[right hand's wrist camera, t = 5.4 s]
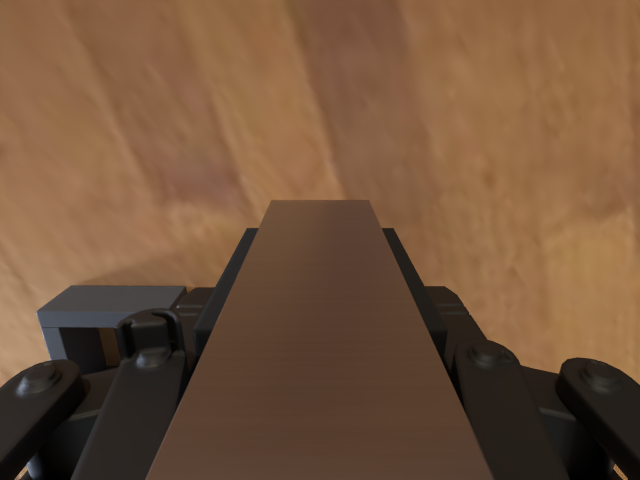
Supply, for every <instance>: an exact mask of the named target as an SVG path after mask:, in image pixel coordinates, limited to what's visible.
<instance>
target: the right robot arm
mask: <svg viewBox="0 0 640 480" xmlns="http://www.w3.org/2000/svg"><path fill="white" fill-rule="evenodd" d="M258 229H259V228H247V229H246V231H245V233H244V235H243V237H242V239H241V240H240V242H239V244H238V246H237V248H236V250H235V252H234V253H233V255H232V257H231V259H230V261H229V263H228V265H227V266H226V268H225V270H224V272H223V274H222V276H221V278H220V279H219V281H218V283H217V285H216V287H215V288H195V289H193V290H192V291H190V292H189V293H187V294H186V295H184V296H183V297H182V299H181V300H180V302H179V303H178V305H177V308H175V309H174V310H171V309H167V308H152V309H147V310H142V311H139V312H137V313H134V314H131V315H129V316H127V317H126V318H124V319H123V320H121V321H120V322H119V323H118V324H117V325H116V326H115V328H114V331H115V335H116V339H117V343H118V348H119V352H120V356H121V363H120V366H119V367H117V368H114V369H110V370H106V371H101V372H96V373H91V374H87V375H81V371H80V368H79V365H77V364H76V363H75V362H74V361H71V360H65V359H59V360H50V361H46V362H43V363H39V364H36V365H33V366H32V367H30V368H27V369H25V370H23V371H21V372H20V373H18V374H17V375H16V376H14V377H13V378H11V379H10V380H9V381H7V382H6V383H5V384H4V385H3V386H2V387H1V388H0V480H14V479H15V478H16V476H17V475H18V474H19V473H20V472H21V470H22V469H23V468H24V467H25V466H26V467H27V469H28V470H27V472H26V473H25V474H24V475H23V476H22V478H21V479H19V480H145V479H146V477H147V474H148V472H149V470H150V468H151V465H152V463H153V461H154V459H155V457H156V454H157V452H158V450H159V448H160V446H161V443H162V441H163V439H164V437H165V435H166V432H167V430H168V428H169V426H170V423H171V421H172V419H173V417H174V415H175V412H176V410H177V408H178V406H179V404H180V401H181V399H182V397H183V395H184V392H185V390H186V388H187V386H188V384H189V381H190V379H191V377H192V375H193V373H194V370H195V368H196V366H197V364H198V362H199V359H200V357H201V355H202V353H203V350H204V348H205V346H206V344H207V342H208V339H209V337H210V335H211V333H212V331H213V328H214V326H215V324H216V322H217V320H218V317H219V315H220V313H221V311H222V308H223V306H224V304H225V302H226V300H227V297H228V295H229V293H230V291H231V289H232V286H233V284H234V282H235V280H236V277H237V275H238V273H239V271H240V269H241V266H242V264H243V262H244V260H245V258H246V255H247V253H248V251H249V249H250V247H251V244H252V242H253V240H254V238H255V235H256V233H257V231H258ZM382 230H383V233H384V235H385V237H386V239H387V242H388V244H389V246H390V248H391V250H392V253H393V255H394V257H395V259H396V261H397V264H398V266H399V268H400V270H401V272H402V275H403V277H404V279H405V281H406V283H407V286H408V288H409V290H410V292H411V294H412V297H413V299H414V301H415V303H416V305H417V308H418V310H419V312H420V314H421V316H422V319H423V321H424V323H425V325H426V328H427V330H428V332H429V334H430V336H431V339H432V341H433V343H434V345H435V347H436V350H437V352H438V354H439V356H440V358H441V361H442V363H443V365H444V367H445V369H446V372H447V374H448V376H449V378H450V380H451V383H452V385H453V387H454V389H455V391H456V394H457V396H458V398H459V400H460V402H461V405H462V407H463V409H464V411H465V414H466V416H467V418H468V420H469V422H470V425H471V427H472V429H473V431H474V433H475V436H476V438H477V440H478V442H479V444H480V447H481V449H482V451H483V453H484V455H485V458H486V460H487V462H488V464H489V466H490V469H491V471H492V473H493V475H494V477H495V480H623V479H622V478H621V477H620V476H619V475H618V474H617V473H616V472H615V470H614V469H613V467H614V465H615V464H616V465H617V466H618V467H619V469H620V470H621V471H622V472H623V473H624V475H625V476H626V477H627V478H628V480H640V385H639V384H638V383H637V382H635V381H634V380H633V379H632V378H631V377H629V376H628V375H626V374H625V373H624V372H622V371H621V370H619V369H617V368H615V367H613V366H611V365H608V364H607V363H604V362H601V361H597V360H594V359H588V358H572V359H567V360H566V361H565V362H564V363H563V364H562V366H561V369H560V373H559V374H557V373H552V372H547V371H542V370H538V369H533V368H529V367H525V366H522V365H520V363H519V360H518V359H517V358H516V356H515V355H514V354H513V352H511V351H510V350H509V349H507V348H506V347H504V346H503V345H500V344H498V343H496V342H493V341H490V340H487V338H486V337H485V335H484V334H483V333H482V331H481V330H480V328H479V327H478V325H477V324H476V322H475V321H474V319H473V318H472V316H471V315H469V312H468V310H467V309H466V307H464V304H463V303H462V301H461V300H460V299H459V297H458V296H457V294H455V293H454V292H452V291H451V290H449V289H448V288H446V287H445V286H424V285H423V283H422V281H421V279H420V277H419V275H418V273H417V272H416V270H415V268H414V266H413V264H412V262H411V260H410V259H409V257H408V255H407V253H406V251H405V249H404V247H403V245H402V244H401V242H400V240H399V238H398V236H397V234H396V232H395V231H394V229H393V228H382Z"/></svg>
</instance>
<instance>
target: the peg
mask: <svg viewBox="0 0 640 480" xmlns="http://www.w3.org/2000/svg"><path fill="white" fill-rule="evenodd" d="M145 480H495V477H494V475H493V473H492V471H491V469H490V466H489V464H488V462H487V460H486V458H485V455H484V453H483V451H482V449H481V447H480V444H479V442H478V440H477V438H476V436H475V433H474V431H473V429H472V427H471V425H470V422H469V420H468V418H467V416H466V414H465V411H464V409H463V407H462V405H461V402H460V400H459V398H458V396H457V394H456V391H455V389H454V387H453V385H452V383H451V380H450V378H449V376H448V374H447V372H446V369H445V367H444V365H443V363H442V361H441V358H440V356H439V354H438V352H437V350H436V347H435V345H434V343H433V341H432V339H431V336H430V334H429V332H428V330H427V328H426V325H425V323H424V321H423V319H422V316H421V314H420V312H419V310H418V308H417V305H416V303H415V301H414V299H413V297H412V294H411V292H410V290H409V288H408V286H407V283H406V281H405V279H404V277H403V275H402V272H401V270H400V268H399V266H398V264H397V261H396V259H395V257H394V255H393V253H392V250H391V248H390V246H389V244H388V242H387V239H386V237H385V235H384V233H383V230H382V228H381V226H380V224H379V222H378V219H377V217H376V215H375V213H374V211H373V208H372V206H371V204H370V202H369V201H368V200H272V201H271V202H270V205H269V207H268V209H267V211H266V213H265V216H264V218H263V220H262V222H261V224H260V227H259V229H258V231H257V233H256V235H255V238H254V240H253V242H252V244H251V247H250V249H249V251H248V253H247V255H246V258H245V260H244V262H243V264H242V266H241V269H240V271H239V273H238V275H237V277H236V280H235V282H234V284H233V286H232V289H231V291H230V293H229V295H228V297H227V300H226V302H225V304H224V306H223V308H222V311H221V313H220V315H219V317H218V320H217V322H216V324H215V326H214V328H213V331H212V333H211V335H210V337H209V339H208V342H207V344H206V346H205V348H204V350H203V353H202V355H201V357H200V359H199V362H198V364H197V366H196V368H195V370H194V373H193V375H192V377H191V379H190V381H189V384H188V386H187V388H186V390H185V392H184V395H183V397H182V399H181V401H180V404H179V406H178V408H177V410H176V412H175V415H174V417H173V419H172V421H171V423H170V426H169V428H168V430H167V432H166V435H165V437H164V439H163V441H162V443H161V446H160V448H159V450H158V452H157V454H156V457H155V459H154V461H153V463H152V465H151V468H150V470H149V472H148V474H147V477H146V479H145Z"/></svg>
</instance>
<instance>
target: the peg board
mask: <svg viewBox="0 0 640 480" xmlns="http://www.w3.org/2000/svg"><path fill="white" fill-rule="evenodd" d="M184 295H186V287H185V286H70V287H69V288H67V289H66V290H65V291H63V292H62V293H60V294H59V295H58V296H56V297H55V298H54V299H52V300H51V301H50V302H48V303H47V304H46V305H44V306H43V307H42V308H40V309H39V310H38V311H36V313H37V316H38V320H39V323H40V326H41V330H42V333H43V336H44V340H45V343H46V346H47V349H48V353H49V356H50V359H51V360H59V359H65V360H71V361H74V362H75V363H76V364H77V365H79V368H80V371H81V375H87V374H91V373H96V372H101V371H106V370H110V369H114V368H117V367H106V362H105V358H104V354H103V350H102V345H101V341H100V337H99V333H98V329H97V327H99V328H115V326H116V325H117V324H118V323H119V322H120V321H121V320H123V319H124V318H126V317H127V316H129V315H131V314H134V313H137V312H139V311H142V310H147V309H152V308H167V309H171V310H174V309H175V308H177V305H178V303H179V302H180V300H181V299H182V297H183V296H184Z"/></svg>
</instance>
